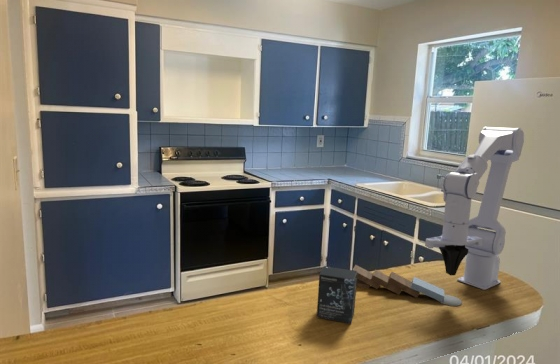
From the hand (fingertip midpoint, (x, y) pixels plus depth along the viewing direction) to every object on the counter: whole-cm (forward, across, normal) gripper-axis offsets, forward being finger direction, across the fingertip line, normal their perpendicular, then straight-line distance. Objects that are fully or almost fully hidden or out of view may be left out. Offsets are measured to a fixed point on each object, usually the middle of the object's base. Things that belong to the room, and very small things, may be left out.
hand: (450, 273), depth 101 cm
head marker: (+7, 0, 0) cm, 7 cm away
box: (+7, +31, +4) cm, 32 cm away
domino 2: (+7, +16, -11) cm, 21 cm away
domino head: (+6, +1, -1) cm, 6 cm away
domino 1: (+6, +14, -10) cm, 18 cm away
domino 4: (+6, +6, -4) cm, 9 cm away
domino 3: (+6, +10, -6) cm, 13 cm away
